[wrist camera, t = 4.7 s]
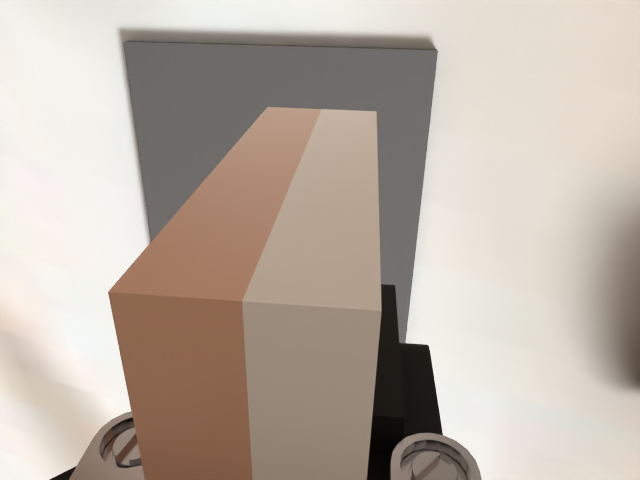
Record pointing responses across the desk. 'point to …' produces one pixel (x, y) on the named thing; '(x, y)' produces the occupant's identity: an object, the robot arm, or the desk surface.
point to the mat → (286, 92)
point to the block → (262, 310)
